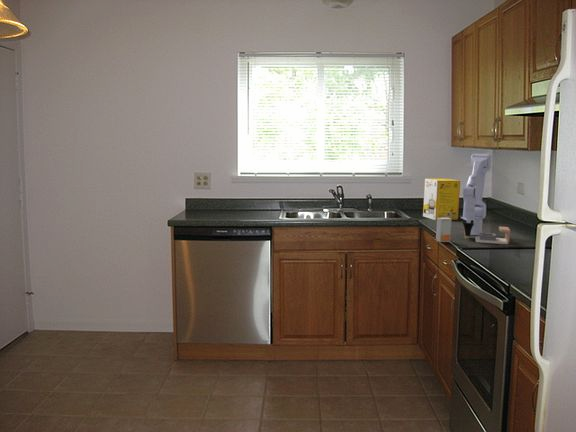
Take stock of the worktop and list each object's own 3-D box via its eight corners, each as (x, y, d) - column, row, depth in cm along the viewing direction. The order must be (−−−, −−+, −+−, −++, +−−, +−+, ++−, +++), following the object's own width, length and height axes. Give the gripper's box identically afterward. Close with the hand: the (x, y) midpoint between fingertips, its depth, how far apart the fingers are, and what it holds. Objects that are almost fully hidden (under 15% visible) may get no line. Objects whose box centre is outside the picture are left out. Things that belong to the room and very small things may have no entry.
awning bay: (475, 238, 319) (475, 225, 318) (507, 240, 315) (508, 227, 314) (475, 242, 308) (476, 228, 307) (509, 244, 303) (510, 230, 302)
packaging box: (422, 216, 400) (425, 178, 396) (444, 216, 404) (447, 178, 400) (435, 220, 384) (437, 180, 381) (457, 219, 388) (460, 180, 385)
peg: (464, 237, 320) (464, 226, 319) (470, 238, 319) (471, 226, 318) (464, 238, 317) (464, 227, 316) (470, 239, 316) (471, 227, 315)
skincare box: (439, 242, 304) (441, 218, 302) (435, 240, 308) (436, 217, 307) (450, 242, 306) (451, 218, 304) (446, 240, 310) (447, 217, 308)
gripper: (461, 207, 324) (459, 232, 326) (461, 210, 310) (459, 236, 312) (474, 207, 322) (473, 233, 324) (475, 211, 308) (473, 237, 310)
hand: (467, 234), depth 318 cm, fingers open, 7 cm apart
